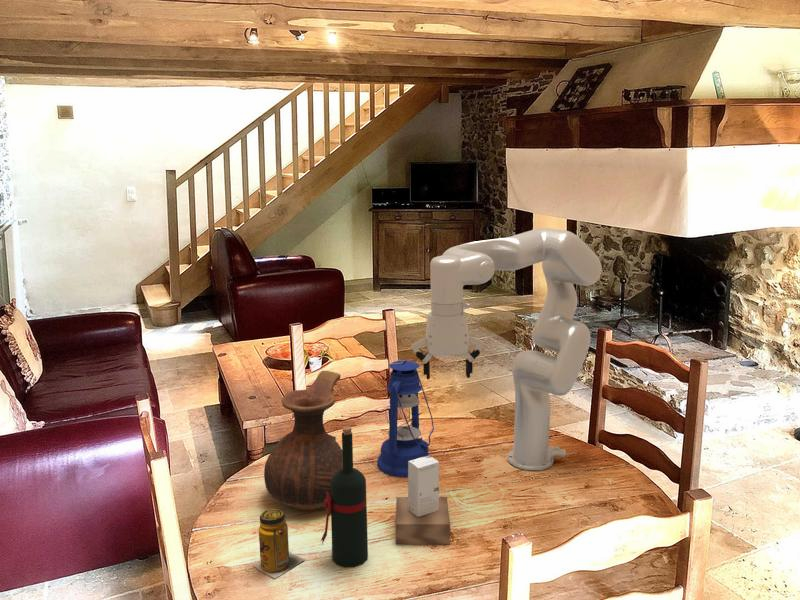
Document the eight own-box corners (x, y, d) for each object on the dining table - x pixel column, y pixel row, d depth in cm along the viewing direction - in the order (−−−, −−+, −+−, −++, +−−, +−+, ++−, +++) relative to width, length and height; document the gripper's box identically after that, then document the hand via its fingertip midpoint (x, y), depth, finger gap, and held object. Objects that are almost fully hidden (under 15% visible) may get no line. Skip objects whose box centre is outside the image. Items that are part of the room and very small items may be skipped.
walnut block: (446, 515, 171) (446, 496, 170) (449, 544, 159) (450, 524, 158) (396, 516, 171) (396, 497, 170) (396, 544, 159) (395, 524, 158)
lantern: (393, 447, 208) (392, 348, 201) (441, 456, 202) (442, 355, 195) (365, 472, 193) (363, 367, 186) (417, 483, 187) (417, 374, 180)
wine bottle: (318, 551, 157) (313, 424, 150) (363, 544, 160) (361, 418, 153) (324, 572, 150) (320, 439, 143) (372, 564, 152) (369, 433, 145)
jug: (364, 509, 174) (362, 393, 167) (277, 528, 166) (271, 407, 159) (337, 471, 194) (334, 365, 187) (257, 486, 186) (251, 377, 179)
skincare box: (417, 518, 161) (417, 468, 158) (406, 509, 164) (406, 460, 162) (440, 510, 164) (440, 461, 161) (429, 501, 168) (429, 454, 165)
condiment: (252, 566, 152) (249, 515, 149) (282, 548, 158) (280, 499, 155) (274, 579, 147) (271, 527, 145) (305, 561, 154) (303, 510, 151)
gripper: (481, 303, 172) (481, 370, 176) (409, 305, 172) (411, 372, 176) (485, 311, 165) (485, 381, 169) (410, 313, 165) (412, 383, 169)
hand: (448, 376), depth 173 cm, fingers open, 9 cm apart
